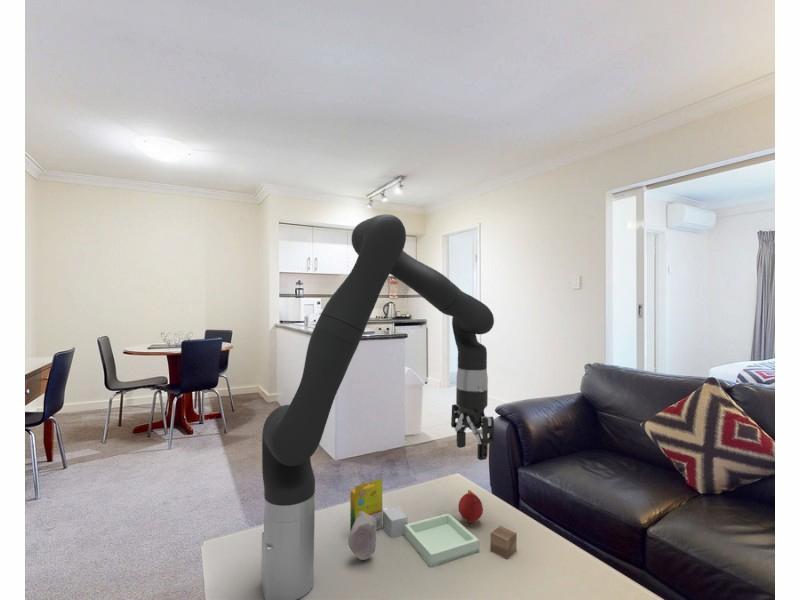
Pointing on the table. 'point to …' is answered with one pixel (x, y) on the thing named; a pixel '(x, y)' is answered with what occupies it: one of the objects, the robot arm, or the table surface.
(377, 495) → the crayon box
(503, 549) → the walnut block
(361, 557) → the fossil
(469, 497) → the onion
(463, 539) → the dish
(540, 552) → the table surface
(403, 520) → the grey block
